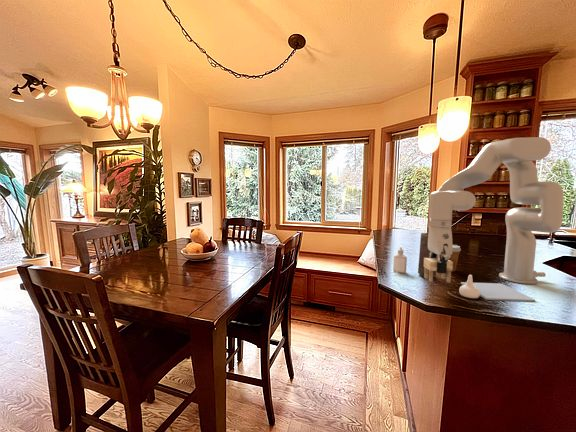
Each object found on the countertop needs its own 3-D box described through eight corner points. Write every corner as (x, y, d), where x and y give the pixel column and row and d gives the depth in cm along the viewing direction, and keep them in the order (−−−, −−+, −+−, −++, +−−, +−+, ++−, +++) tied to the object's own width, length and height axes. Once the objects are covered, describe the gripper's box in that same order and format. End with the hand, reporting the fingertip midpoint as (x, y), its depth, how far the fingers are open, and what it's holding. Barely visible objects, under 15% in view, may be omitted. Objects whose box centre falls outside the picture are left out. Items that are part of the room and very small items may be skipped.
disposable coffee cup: (459, 268, 127) (460, 245, 126) (459, 273, 119) (461, 248, 118) (437, 265, 132) (438, 243, 131) (436, 270, 124) (437, 246, 123)
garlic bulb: (458, 292, 98) (457, 272, 98) (478, 294, 95) (477, 273, 95) (459, 298, 93) (458, 276, 93) (481, 300, 90) (480, 278, 89)
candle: (439, 279, 111) (441, 234, 109) (420, 278, 112) (423, 234, 110) (432, 274, 118) (435, 231, 116) (415, 273, 119) (417, 231, 118)
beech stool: (444, 277, 101) (445, 258, 100) (451, 282, 95) (452, 262, 94) (423, 277, 101) (424, 257, 101) (429, 282, 96) (430, 261, 95)
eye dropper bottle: (400, 273, 119) (401, 248, 117) (391, 270, 124) (392, 246, 123) (407, 272, 120) (408, 248, 119) (398, 269, 125) (399, 245, 124)
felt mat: (501, 285, 105) (501, 283, 104) (535, 301, 89) (535, 299, 89) (460, 283, 106) (460, 282, 106) (486, 299, 90) (486, 298, 90)
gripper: (463, 227, 87) (460, 278, 89) (439, 221, 104) (436, 264, 106) (440, 227, 88) (438, 277, 90) (419, 221, 105) (418, 263, 107)
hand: (437, 269), depth 98 cm, fingers closed on beech stool, 5 cm apart
